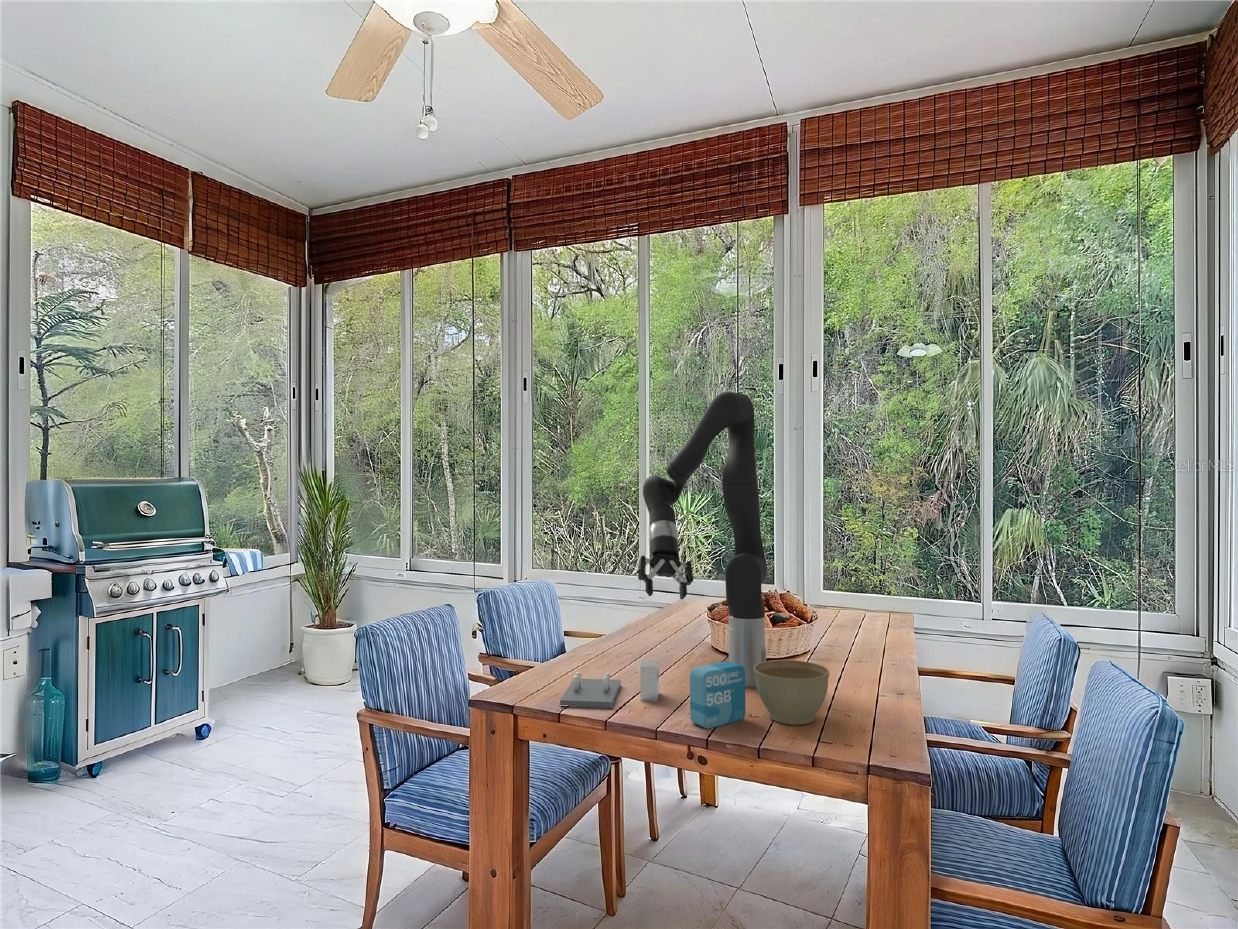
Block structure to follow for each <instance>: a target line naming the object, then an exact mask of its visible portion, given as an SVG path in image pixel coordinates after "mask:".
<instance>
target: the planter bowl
mask: <svg viewBox="0 0 1238 929" xmlns="http://www.w3.org/2000/svg"><path fill="white" fill-rule="evenodd" d="M754 673H755V681H756V687H755V688H756V690H757V692H758V693H757V694H758V696H759V699H760V700H761V702H762V704H763V705H764V707H765V708H766V710H767V711H768V715H769V717H770V719H771V720H772V721H775V722H777V723H779V724H780V723H781V724H784V725H793V726H796V725H807V724H810V723H812V722H814V721H815V717H816V714H817V713H818V712H819V711H820V709H821V707H822V706H823V703H825V702H824V701H825V698H826V697H827V696H826V695H827V693H828V688H829V678H830V670H829V668H827V667H826V666H824V665H821V664H818V663H814V662H810V661H803V660H795V659H794V660H792V659H790V660H789V659H781V660H780V659H779V660H778V659H776V660H769V661H767V660H766V662H762V663H759V664H757V665H755V666H754Z"/></svg>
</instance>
